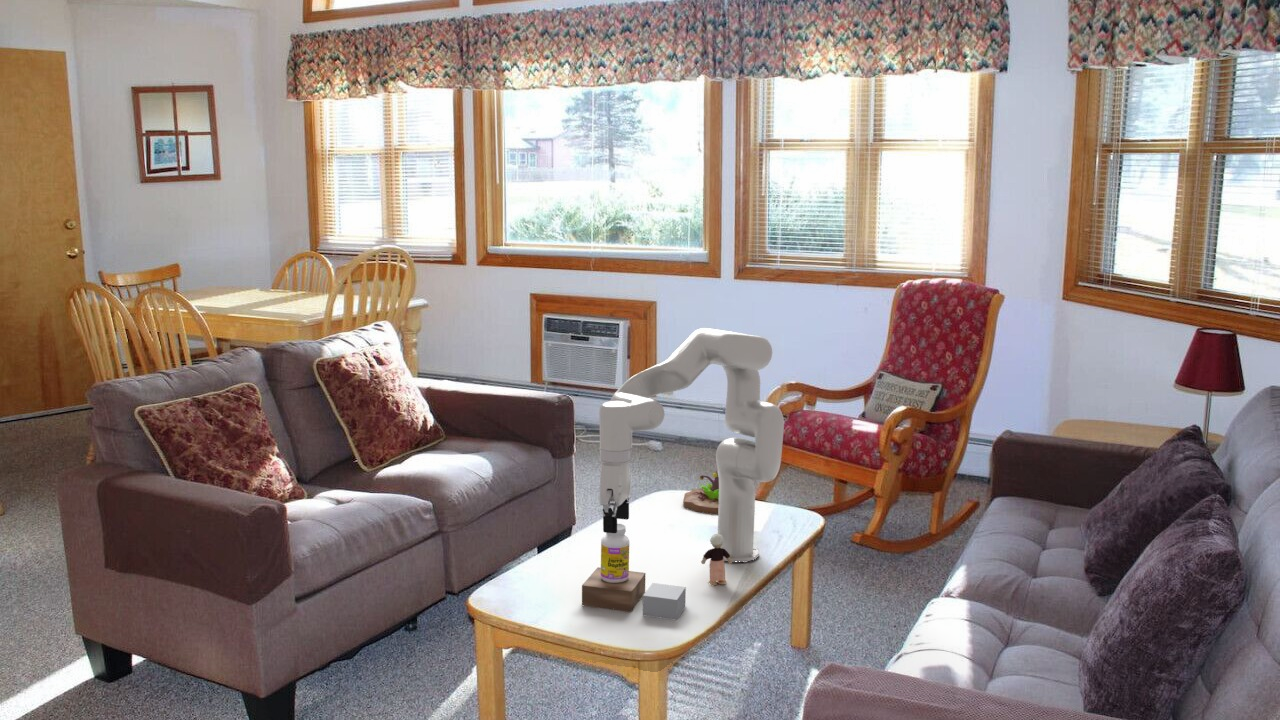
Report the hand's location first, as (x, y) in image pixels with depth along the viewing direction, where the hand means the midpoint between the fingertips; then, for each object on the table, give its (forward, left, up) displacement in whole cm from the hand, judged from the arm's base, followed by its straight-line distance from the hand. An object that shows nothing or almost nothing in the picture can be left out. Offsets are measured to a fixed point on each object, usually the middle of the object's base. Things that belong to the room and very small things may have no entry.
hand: (616, 525), depth 248 cm
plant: (-80, +8, -19) cm, 82 cm away
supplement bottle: (0, 0, -13) cm, 13 cm away
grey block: (+3, +13, -18) cm, 23 cm away
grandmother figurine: (-17, +21, -18) cm, 32 cm away
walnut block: (0, 0, -18) cm, 18 cm away
